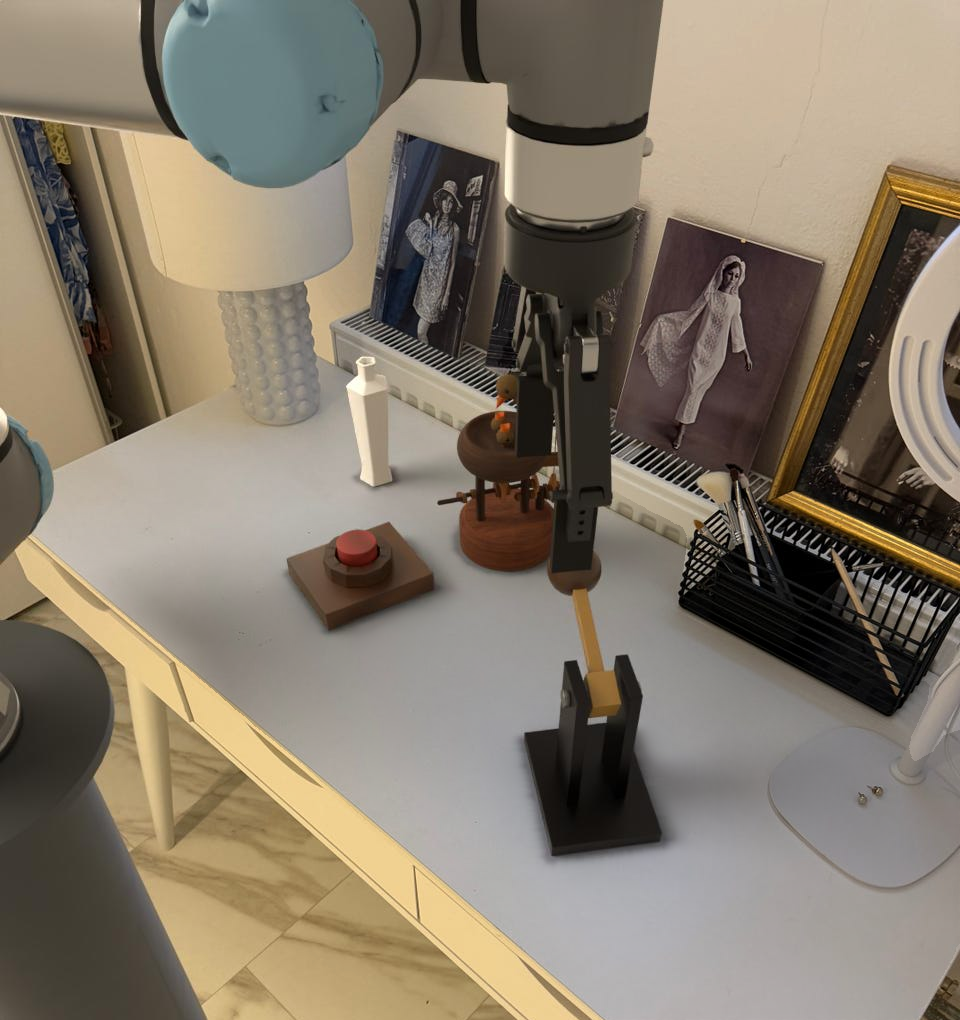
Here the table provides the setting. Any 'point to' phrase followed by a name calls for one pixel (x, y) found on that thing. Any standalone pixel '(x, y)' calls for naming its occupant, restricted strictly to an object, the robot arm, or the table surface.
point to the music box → (503, 492)
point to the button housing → (360, 578)
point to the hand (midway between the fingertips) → (550, 507)
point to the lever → (589, 638)
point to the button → (356, 548)
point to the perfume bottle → (371, 421)
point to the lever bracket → (592, 770)
